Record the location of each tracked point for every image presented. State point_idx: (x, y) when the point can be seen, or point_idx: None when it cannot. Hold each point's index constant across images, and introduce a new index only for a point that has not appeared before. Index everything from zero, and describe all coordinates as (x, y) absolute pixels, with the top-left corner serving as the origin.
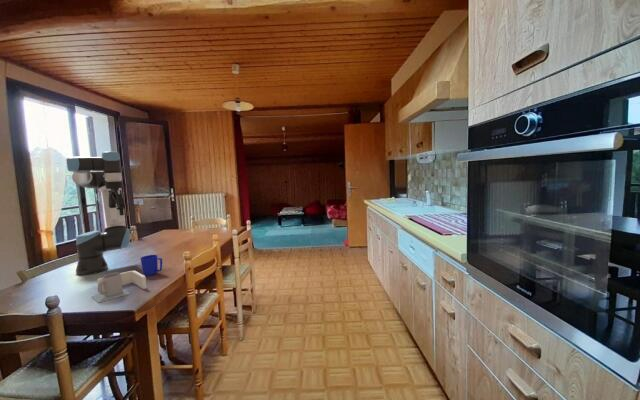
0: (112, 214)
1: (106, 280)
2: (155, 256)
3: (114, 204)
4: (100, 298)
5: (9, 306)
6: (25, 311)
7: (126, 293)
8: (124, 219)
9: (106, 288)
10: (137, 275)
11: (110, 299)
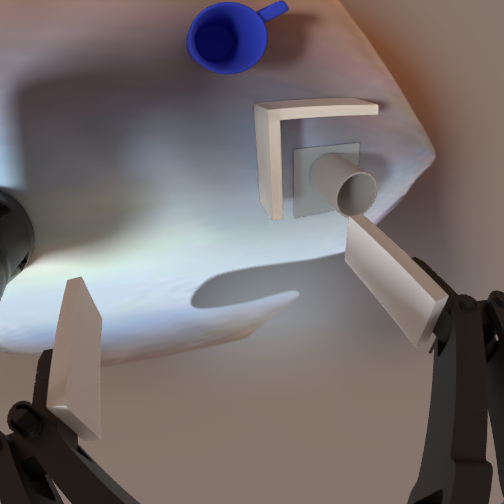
0: (93, 359)
1: (364, 205)
2: (220, 8)
3: (93, 469)
4: None
5: (207, 343)
6: (269, 314)
7: (355, 148)
8: (370, 227)
9: (349, 197)
10: (338, 115)
11: None
